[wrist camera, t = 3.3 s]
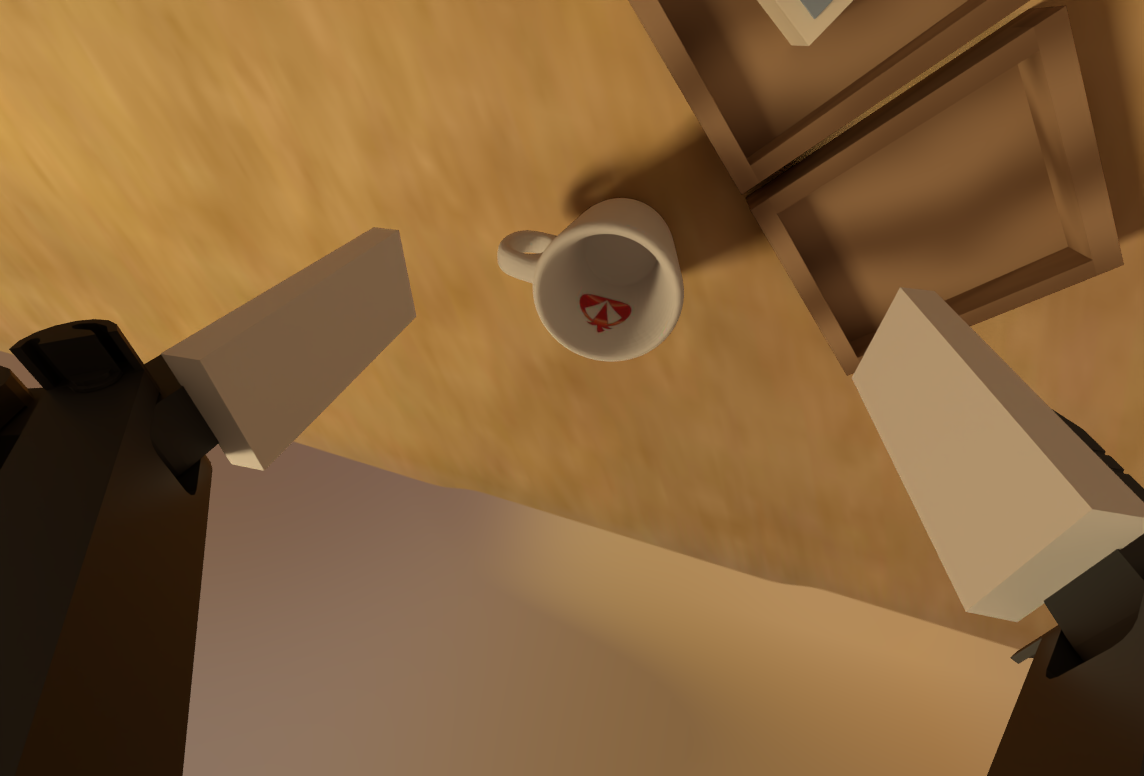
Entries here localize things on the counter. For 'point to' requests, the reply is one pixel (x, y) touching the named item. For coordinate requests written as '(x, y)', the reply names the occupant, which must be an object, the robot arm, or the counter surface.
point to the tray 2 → (951, 192)
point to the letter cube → (803, 17)
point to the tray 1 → (799, 68)
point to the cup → (602, 279)
